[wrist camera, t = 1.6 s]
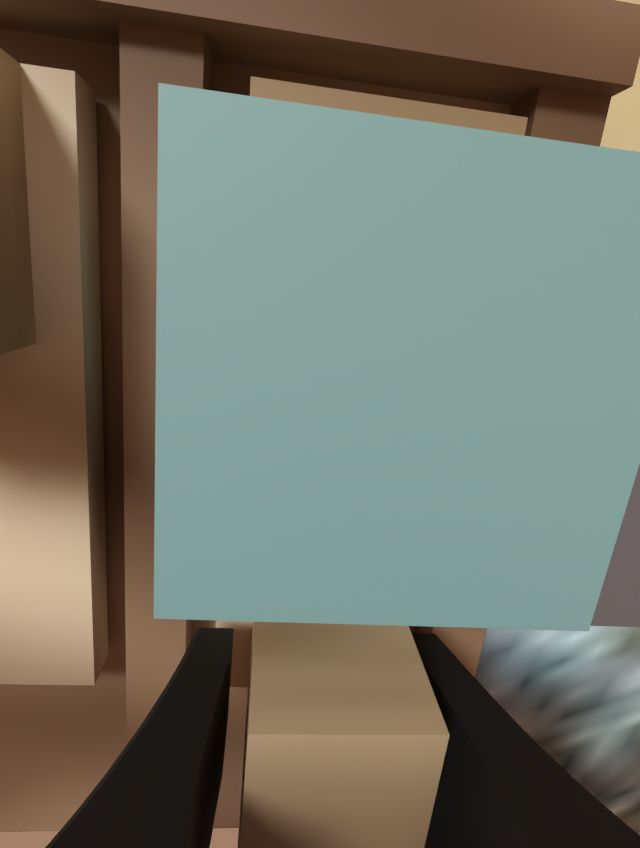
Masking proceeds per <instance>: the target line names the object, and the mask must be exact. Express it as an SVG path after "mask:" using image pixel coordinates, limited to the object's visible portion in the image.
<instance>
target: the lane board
mask: <svg viewBox="0 0 640 848" xmlns="http://www.w3.org/2000/svg"><path fill="white" fill-rule="evenodd" d="M0 48H1V49H3V50H4V51H5V52H6V53H8V54H9V55H10V56H11V57H13V58H14V59H15V60H16V61H17V62H19V63H22V64H29V65H36V66H43V67H49V68H56V69H63V70H70V71H75V72H76V73H77V74H78V75H79V76H80V77H81V78H82V79H83V80H84V81H85V82H86V83H87V84H88V85H89V86H90V87H91V88H92V89H93V90H94V91H95V92H96V124H97V169H98V213H99V258H100V303H101V348H102V393H103V438H104V483H105V528H106V573H107V617H108V656H107V658H106V660H105V662H104V665H103V667H102V669H101V672H100V674H99V676H98V679H97V681H96V683H95V685H27V684H0V832H27V831H60V830H61V829H62V828H63V826H64V825H65V824H66V823H67V822H68V820H69V819H70V818H71V817H72V816H73V814H74V813H75V812H76V811H77V810H78V808H79V807H80V806H81V805H82V803H83V802H84V801H85V800H86V798H87V797H88V796H89V795H90V793H91V792H92V791H93V790H94V788H95V787H96V786H97V784H98V783H99V782H100V781H101V779H102V778H103V777H104V775H105V774H106V773H107V771H108V770H109V769H110V767H111V766H112V765H113V763H114V762H115V760H116V759H117V758H118V756H119V755H120V754H121V752H122V751H123V749H124V748H125V747H126V745H127V744H128V742H129V741H130V740H131V738H132V737H133V736H134V734H135V733H136V731H137V730H138V729H139V727H140V726H141V724H142V723H143V721H144V720H145V718H146V717H147V715H148V714H149V712H150V710H151V709H152V707H153V706H154V704H155V703H156V701H157V700H158V698H159V696H160V695H161V693H162V692H163V690H164V689H165V687H166V685H167V684H168V682H169V680H170V679H171V677H172V675H173V674H174V672H175V670H176V668H177V667H178V665H179V663H180V661H181V659H182V658H183V656H184V654H185V652H186V650H187V648H188V646H189V644H190V642H191V639H192V637H193V635H194V632H196V631H197V630H198V629H199V628H201V627H205V628H216V620H182V619H154V515H155V401H156V287H157V172H158V83H163V84H170V85H177V86H184V87H191V88H198V89H205V90H212V91H219V92H226V93H233V94H240V95H246V96H250V80H251V76H253V77H259V78H266V79H273V80H280V81H286V82H293V83H300V84H306V85H313V86H320V87H327V88H333V89H340V90H347V91H353V92H360V93H367V94H374V95H380V96H387V97H394V98H400V99H407V100H414V101H421V102H427V103H434V104H441V105H447V106H454V107H461V108H468V109H474V110H481V111H488V112H494V113H501V114H508V115H515V116H521V117H528V121H527V126H526V131H525V136H530V137H537V138H544V139H551V140H558V141H565V142H572V143H579V144H585V145H592V146H599V147H600V142H601V138H602V134H603V130H604V125H605V121H606V117H607V113H608V108H609V104H610V100H611V97H612V96H614V95H616V94H618V93H620V92H622V91H624V90H626V89H628V88H629V87H631V86H632V85H633V81H634V77H635V73H636V69H637V65H638V61H639V57H640V5H638V4H632V3H627V2H621V1H616V0H0ZM409 628H410V631H411V633H431V634H436V635H437V636H438V638H439V639H440V640H441V641H442V642H443V643H444V644H445V645H446V646H447V647H448V649H449V650H450V651H451V652H452V653H453V654H454V655H455V656H456V658H457V659H458V660H459V661H460V662H461V663H462V664H463V665H464V667H465V668H466V669H467V670H468V671H469V672H470V673H471V674H472V675H473V677H474V678H475V675H476V671H477V667H478V662H479V658H480V654H481V650H482V645H483V641H484V637H485V633H486V628H466V627H430V626H409ZM247 696H248V687H230V694H229V710H228V722H227V733H226V743H225V754H224V764H223V774H222V780H221V786H220V791H219V797H218V802H217V808H216V813H215V819H214V824H213V828H239V819H240V803H241V787H242V771H243V756H244V740H245V724H246V710H247Z"/></svg>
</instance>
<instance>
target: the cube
mask: <svg viewBox="0 0 640 848" xmlns="http://www.w3.org/2000/svg"><path fill="white" fill-rule="evenodd" d="M639 464H640V152H634V151H627V150H620V149H613V148H606V147H599V146H592V145H585V144H579V143H572V142H565V141H558V140H551V139H544V138H537V137H530V136H523V135H516V134H509V133H502V132H496V131H489V130H482V129H475V128H468V127H461V126H454V125H447V124H440V123H433V122H426V121H419V120H412V119H406V118H399V117H392V116H385V115H378V114H371V113H364V112H357V111H350V110H343V109H336V108H329V107H323V106H316V105H309V104H302V103H295V102H288V101H281V100H274V99H267V98H260V97H253V96H246V95H240V94H233V93H226V92H219V91H212V90H205V89H198V88H191V87H184V86H177V85H170V84H163V83H158V172H157V287H156V401H155V515H154V619H182V620H217V621H253V622H288V623H324V624H359V625H395V626H430V627H466V628H502V629H537V630H573V631H589V629H590V625H591V622H592V619H593V615H594V612H595V609H596V606H597V602H598V599H599V596H600V592H601V589H602V586H603V583H604V579H605V576H606V573H607V569H608V566H609V563H610V560H611V556H612V553H613V550H614V546H615V543H616V540H617V537H618V533H619V530H620V527H621V523H622V520H623V517H624V514H625V510H626V507H627V504H628V500H629V497H630V494H631V491H632V487H633V484H634V481H635V477H636V474H637V471H638V468H639Z"/></svg>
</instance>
